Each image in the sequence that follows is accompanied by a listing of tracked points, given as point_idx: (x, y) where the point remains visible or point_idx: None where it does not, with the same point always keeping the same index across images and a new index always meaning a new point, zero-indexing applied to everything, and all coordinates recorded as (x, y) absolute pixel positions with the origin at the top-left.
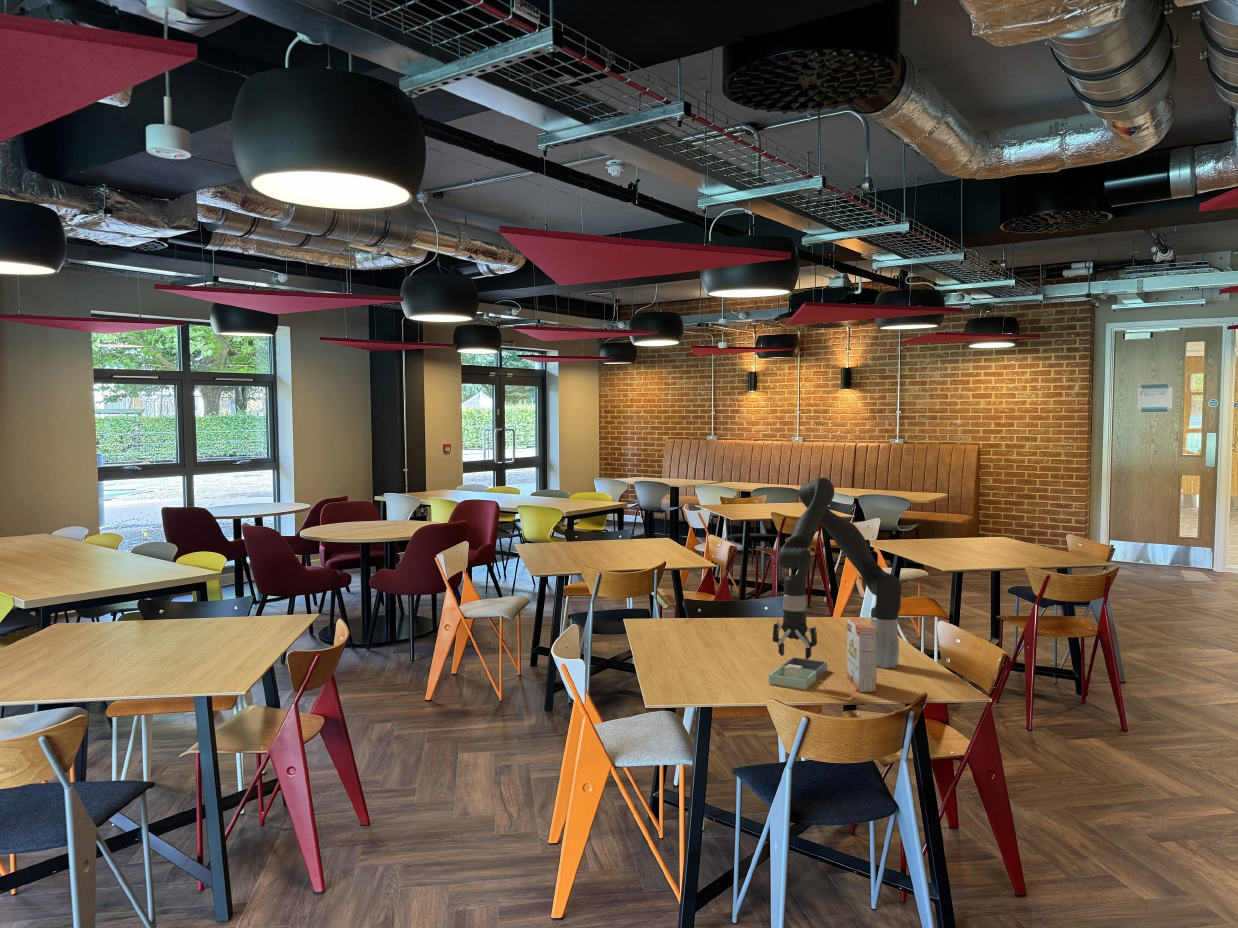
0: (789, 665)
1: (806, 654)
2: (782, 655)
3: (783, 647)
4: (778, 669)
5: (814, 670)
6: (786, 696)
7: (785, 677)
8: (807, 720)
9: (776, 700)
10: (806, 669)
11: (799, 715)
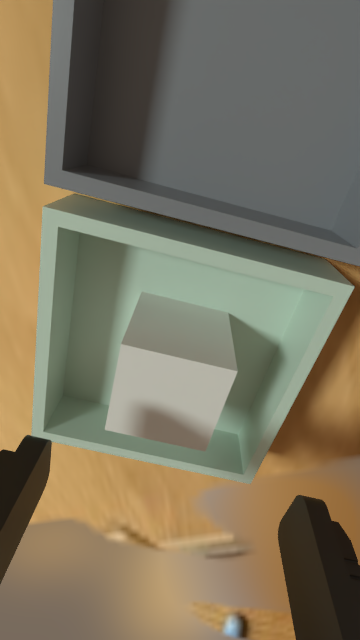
0: (132, 381)
1: (294, 582)
2: (47, 475)
3: (8, 533)
4: (52, 312)
5: (341, 260)
6: (163, 500)
7: (134, 458)
8: (241, 630)
9: (132, 536)
10: (272, 241)
11: (218, 611)
